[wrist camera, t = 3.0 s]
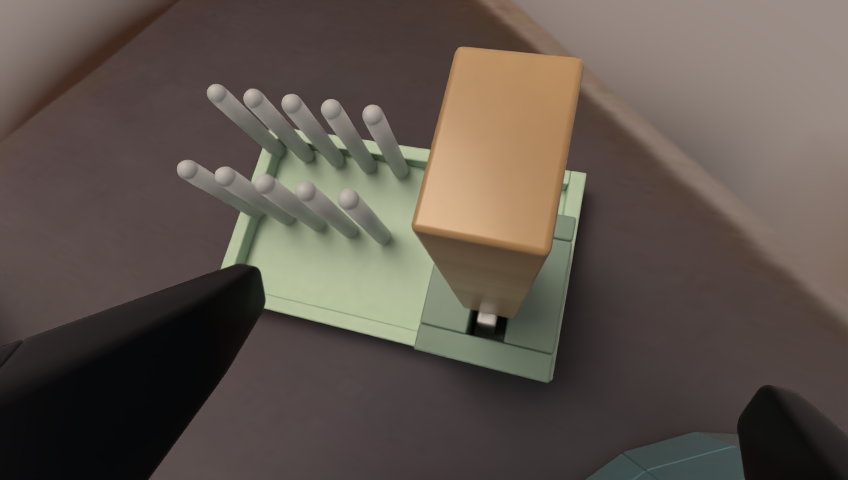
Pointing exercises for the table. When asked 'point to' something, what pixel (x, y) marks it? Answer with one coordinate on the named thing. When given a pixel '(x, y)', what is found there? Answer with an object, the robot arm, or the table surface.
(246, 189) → the dish rack
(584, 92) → the table surface
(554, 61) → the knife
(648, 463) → the basin
